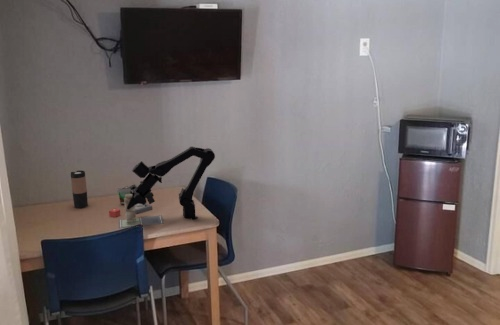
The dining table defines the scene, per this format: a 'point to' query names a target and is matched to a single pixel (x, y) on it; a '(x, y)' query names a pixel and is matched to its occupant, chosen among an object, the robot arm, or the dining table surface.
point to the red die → (114, 213)
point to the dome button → (139, 206)
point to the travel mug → (79, 189)
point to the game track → (141, 221)
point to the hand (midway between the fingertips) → (126, 207)
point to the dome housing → (143, 209)
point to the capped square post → (131, 212)
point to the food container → (123, 193)
